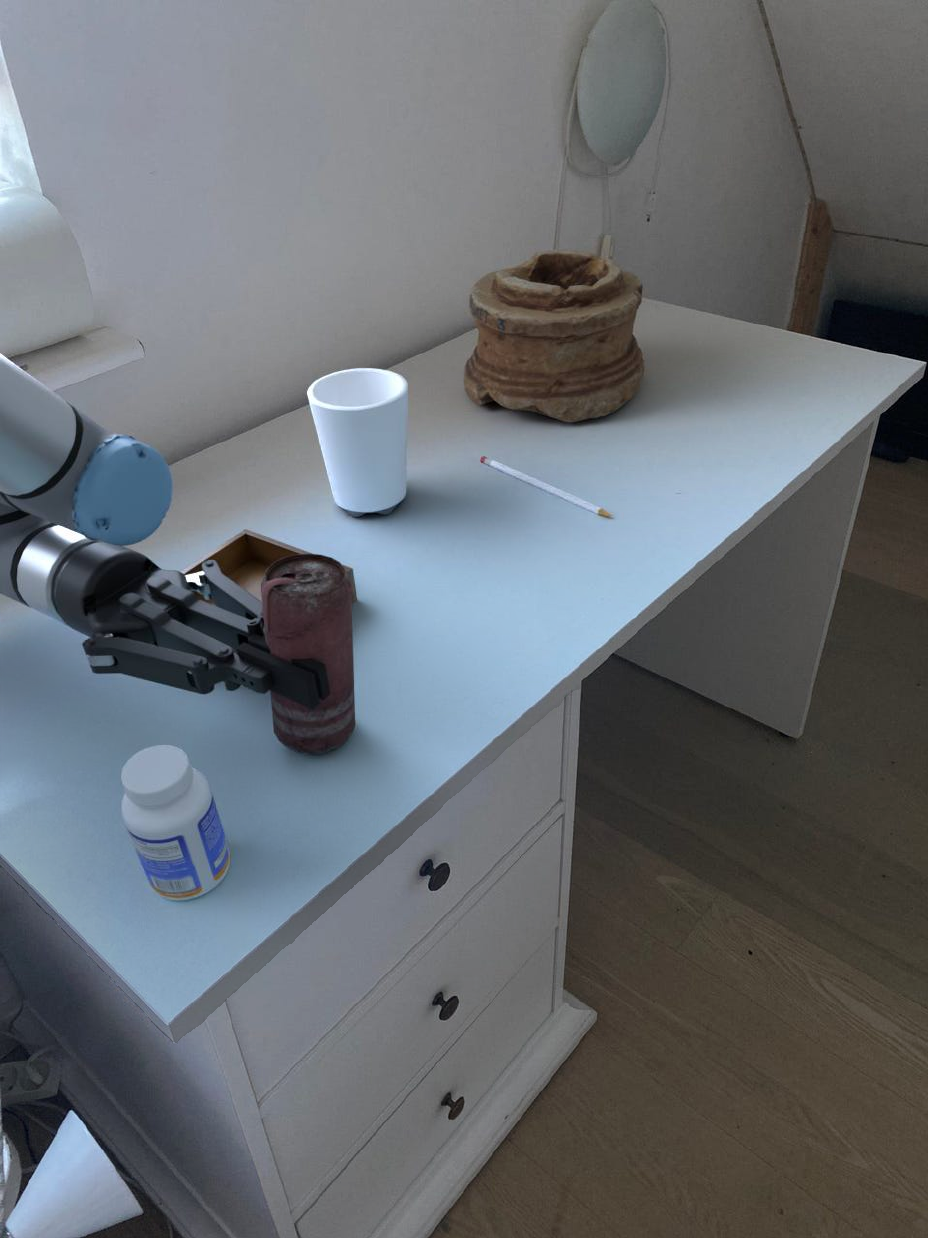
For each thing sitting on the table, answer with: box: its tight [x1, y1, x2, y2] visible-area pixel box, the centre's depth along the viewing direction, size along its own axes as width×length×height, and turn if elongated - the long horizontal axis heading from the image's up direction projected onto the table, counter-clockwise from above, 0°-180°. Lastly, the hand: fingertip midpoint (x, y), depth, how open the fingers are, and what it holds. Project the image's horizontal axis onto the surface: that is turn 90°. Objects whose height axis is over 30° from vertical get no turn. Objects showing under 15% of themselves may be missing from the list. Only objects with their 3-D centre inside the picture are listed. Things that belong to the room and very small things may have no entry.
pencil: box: [479, 455, 614, 519], centre depth 100 cm, size 1×19×1 cm, turn 44°
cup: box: [306, 367, 409, 518], centre depth 96 cm, size 10×10×13 cm
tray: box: [180, 528, 358, 655], centre depth 83 cm, size 13×13×3 cm
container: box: [463, 249, 646, 423], centre depth 116 cm, size 22×24×15 cm
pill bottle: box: [120, 744, 231, 902], centre depth 59 cm, size 5×5×10 cm
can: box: [261, 553, 356, 755], centre depth 68 cm, size 6×6×14 cm
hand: (318, 687), depth 64 cm, fingers closed on can
